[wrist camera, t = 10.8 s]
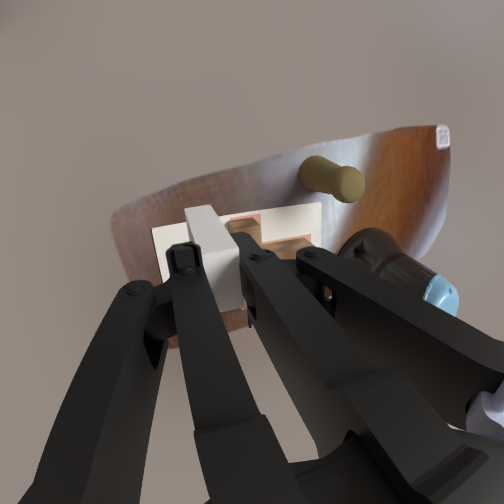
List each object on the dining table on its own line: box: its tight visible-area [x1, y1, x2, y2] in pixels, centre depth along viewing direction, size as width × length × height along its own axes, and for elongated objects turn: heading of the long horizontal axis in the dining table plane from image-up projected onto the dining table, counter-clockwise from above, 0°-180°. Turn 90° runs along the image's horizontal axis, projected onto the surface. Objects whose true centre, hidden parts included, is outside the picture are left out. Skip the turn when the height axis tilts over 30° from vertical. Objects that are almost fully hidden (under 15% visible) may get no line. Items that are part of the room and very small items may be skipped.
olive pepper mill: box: [299, 155, 365, 203], centre depth 42 cm, size 6×6×11 cm
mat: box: [152, 202, 322, 283], centre depth 49 cm, size 28×16×1 cm, turn 94°
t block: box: [228, 217, 315, 310], centre depth 48 cm, size 13×14×4 cm
